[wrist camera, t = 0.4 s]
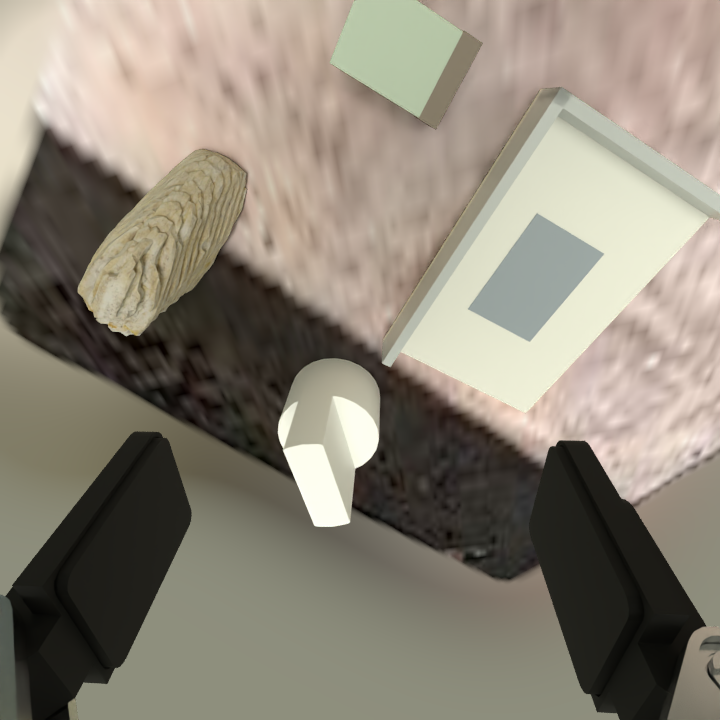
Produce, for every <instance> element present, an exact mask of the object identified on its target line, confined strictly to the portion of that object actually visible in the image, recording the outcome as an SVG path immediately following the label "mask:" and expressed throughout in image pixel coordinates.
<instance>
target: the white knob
mask: <svg viewBox="0 0 720 720" xmlns="http://www.w3.org/2000/svg"><path fill="white" fill-rule="evenodd" d="M379 418H380V392H379V388H378V386H377V383H376V381H375V379H374V378H373V377H372V376H371V374H370V373H369V372H368V371H366V370H365V369H364V368H362V367H361V366H360V365H358V364H355V363H353V362H351V361H348V360H343V359H337V358H332V359H322V360H318V361H315V362H312V363H310V364H309V365H307V366H305V367H304V368H303V369H302V370H301V371H300V372H299V373H298V374H297V375H296V377H295V379H294V381H293V384H292V386H291V389H290V392H289V395H288V398H287V401H286V403H285V406H284V409H283V412H282V415H281V418H280V421H279V426H278V435H279V439H280V443H281V445H282V446H283V448H284V449H283V451H284V453H285V456H286V458H287V461H288V463H289V465H290V468H291V470H292V473H293V475H294V477H295V480H296V482H297V485H298V487H299V489H300V492H301V494H302V497H303V499H304V501H305V504H306V506H307V509H308V511H309V513H310V516H311V518H312V521H313V523H314V526H319V527H325V526H326V527H328V526H329V527H333V526H338V525H344V524H347V523H350V517H351V507H352V496H353V486H354V475H355V468H357V467H359V466H361V465H363V464H364V463H365V462H367V461H368V460H369V459H370V458H371V457H372V455H373V454H374V452H375V451H376V449H377V445H378V441H379Z"/></svg>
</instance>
